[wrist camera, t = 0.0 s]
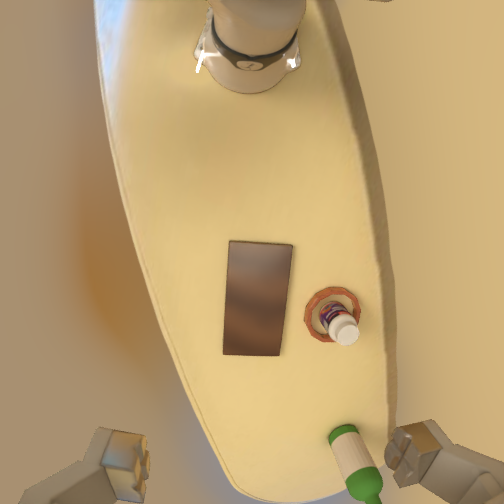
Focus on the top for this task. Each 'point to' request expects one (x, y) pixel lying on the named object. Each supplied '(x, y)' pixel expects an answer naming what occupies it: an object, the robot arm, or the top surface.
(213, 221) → the top surface
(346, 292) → the ring
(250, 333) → the board
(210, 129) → the top surface
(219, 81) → the robot arm
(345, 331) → the pill bottle
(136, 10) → the top surface
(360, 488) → the wine bottle
